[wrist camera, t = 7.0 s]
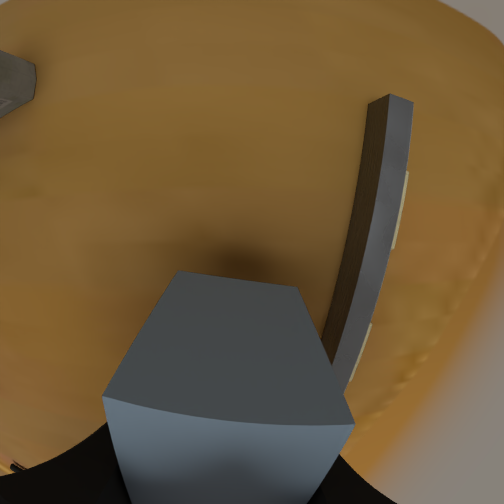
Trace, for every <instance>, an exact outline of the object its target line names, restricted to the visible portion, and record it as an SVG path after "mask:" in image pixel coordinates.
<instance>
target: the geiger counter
mask: <svg viewBox="0 0 504 504" xmlns="http://www.w3.org/2000/svg"><path fill="white" fill-rule="evenodd" d="M35 84H36V73H35V66H34V64H33V63H30V62H28V61H26V60H23V59H21V58H18V57H16V56H14V55H11V54H9V53H6V52H3V51H1V50H0V118H1V117H2V116H4V115H6V114H7V113H9V112H11V111H12V110H14V109H16V108H18V107H19V106H21V105H23V104H25V103H26V102H28V101H30V100H32V99H33V96H34V90H35Z"/></svg>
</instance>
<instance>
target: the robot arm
mask: <svg viewBox="0 0 504 504" xmlns="http://www.w3.org/2000/svg"><path fill="white" fill-rule="evenodd" d="M0 504H132V502H131V500H130V497H129V494H128V491H127V488H126V485H125V482H124V479H123V476H122V473H121V470H120V467H119V464H118V460H117V457H116V453H115V450H114V446H113V442H112V438H111V434H110V430H109V426H108V422H106V423H105V424H104V425H103V426H101V427H100V428H99V429H98V430H97V431H95V432H94V433H93V434H92V435H90V436H89V437H88V438H86V439H85V440H83V441H82V442H80V443H79V444H77V445H76V446H74V447H73V448H71V449H69V450H68V451H66V452H64V453H62V454H61V455H59V456H57V457H55V458H53V459H51V460H49V461H46V462H44V463H42V464H39V465H37V466H34V467H32V468H29V469H26V470H23V471H19V472H16V473H12V474H8V475H4V476H0ZM307 504H397V503H395V502H393V501H392V500H390V499H389V498H388V497H386V496H385V495H383V494H382V493H380V492H379V491H378V490H376V489H375V488H373V487H372V486H371V485H370V484H369V483H367V482H366V481H365V480H364V479H363V478H362V477H361V476H360V475H359V474H357V473H356V472H355V471H354V470H353V469H352V468H351V466H350V465H349V464H348V463H347V462H346V461H345V460H344V459H343V458H342V457H341V455H340V454H339V455H338V457H337V458H336V460H335V462H334V463H333V465H332V466H331V468H330V470H329V471H328V473H327V474H326V476H325V478H324V479H323V481H322V482H321V484H320V485H319V487H318V488H317V490H316V491H315V493H314V494H313V496H312V497H311V498H310V500H309V501H308V503H307Z"/></svg>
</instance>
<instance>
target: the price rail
mask: <svg viewBox="0 0 504 504" xmlns="http://www.w3.org/2000/svg"><path fill="white" fill-rule="evenodd" d="M413 103H414V102H411V101H409V100H406V99H403V98H401V97H398V96H395V95H393V94H388V95H386V96H384V97H382V98H380V99H378V100H376V101H374V102H372V103H370V104H368V111H367V120H366V128H365V136H364V144H363V151H362V157H361V164H360V170H359V177H358V183H357V188H356V194H355V200H354V205H353V210H352V215H351V221H350V226H349V230H348V235H347V240H346V245H345V249H344V254H343V258H342V262H341V267H340V271H339V275H338V279H337V283H336V287H335V291H334V295H333V299H332V303H331V307H330V310H329V314H328V318H327V321H326V325H325V329H324V332H323V335H322V339H321V342H322V345H323V347H324V349H325V352H326V354H327V357H328V359H329V361H330V364H331V366H332V368H333V371H334V373H335V376H336V378H337V380H338V383H339V385H340V388H341V390H342V392H343V394H344V392H345V389H346V387H347V385H348V382H349V381H352V378H353V376H354V373H355V371H356V368H357V366H358V363H359V361H360V358H361V355H362V353H363V350H364V347H365V344H366V341H367V339H368V336H369V333H370V330H371V327H372V324H373V323H372V322H371V319H372V316H373V312H374V309H375V306H376V303H377V299H378V296H379V293H380V289H381V286H382V282H383V278H384V275H385V271H386V267H387V263H388V259H389V255H390V251H391V249H394V247H395V242H396V238H397V233H398V229H399V224H400V220H401V215H402V210H403V204H404V199H405V193H406V188H407V181H408V175H409V172H408V171H406V170H407V163H408V155H409V147H410V139H411V129H412V119H413Z"/></svg>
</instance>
